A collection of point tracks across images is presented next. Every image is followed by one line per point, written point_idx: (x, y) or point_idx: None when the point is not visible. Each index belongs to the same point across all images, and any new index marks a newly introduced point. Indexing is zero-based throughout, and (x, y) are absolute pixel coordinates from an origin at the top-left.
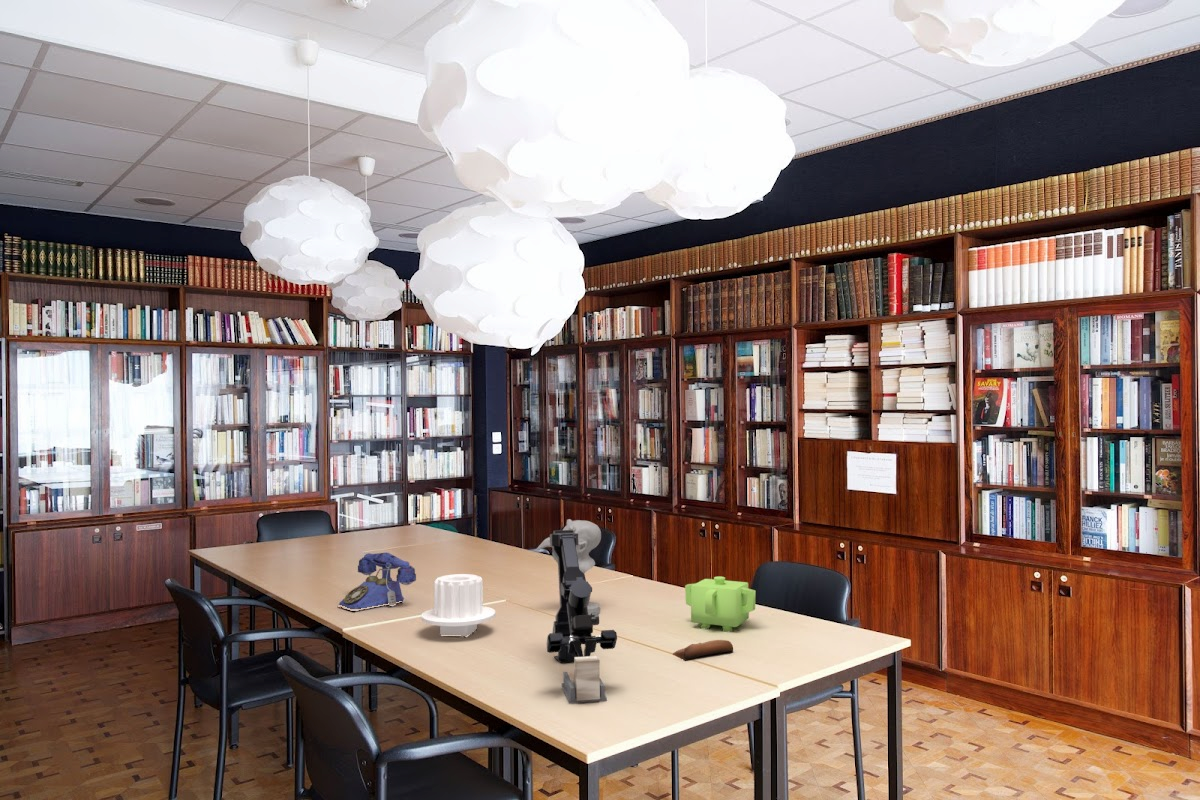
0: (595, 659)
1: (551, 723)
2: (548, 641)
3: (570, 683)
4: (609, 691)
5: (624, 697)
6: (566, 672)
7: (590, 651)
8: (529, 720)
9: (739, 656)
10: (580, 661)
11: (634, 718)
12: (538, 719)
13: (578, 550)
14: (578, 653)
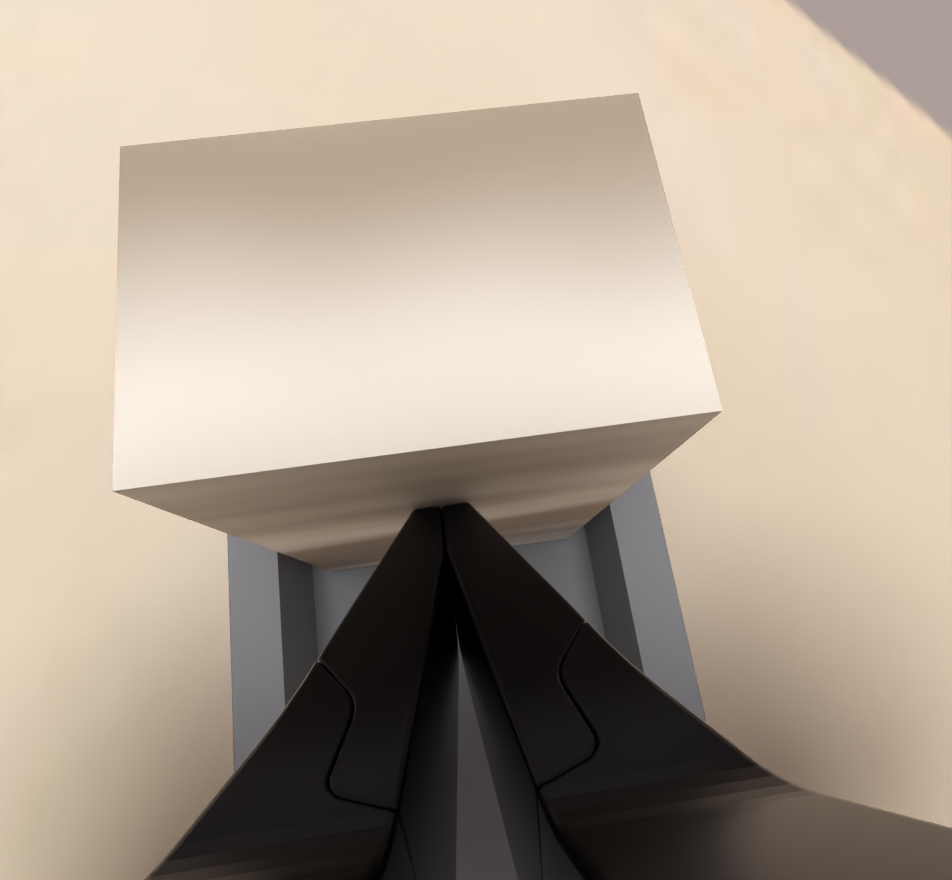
0: (202, 197)
1: (709, 55)
2: None
3: (643, 560)
4: (185, 761)
5: (69, 553)
6: None
7: (234, 777)
8: (876, 111)
9: None
10: (554, 104)
11: (110, 93)
12: (815, 123)
13: None
14: (635, 681)
